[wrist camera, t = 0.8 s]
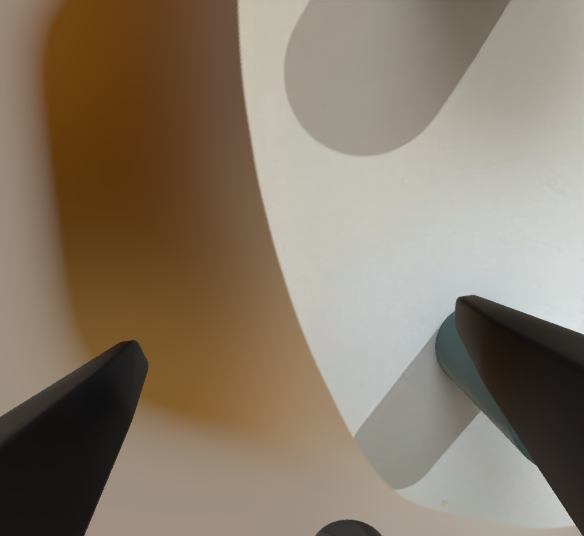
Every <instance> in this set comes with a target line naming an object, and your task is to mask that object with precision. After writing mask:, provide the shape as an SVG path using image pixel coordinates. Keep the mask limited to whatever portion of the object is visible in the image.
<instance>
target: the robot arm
mask: <svg viewBox="0 0 584 536" xmlns="http://www.w3.org/2000/svg"><path fill="white" fill-rule="evenodd" d="M454 326H455V329H456V332H457V334H458V336H459V338H460V340H461V342H462V344H463V346H464V348H465V350H466V352H467V354H468V355H469V357H470V359H471V361H472V363H473V365H474V367H475V369H476V371H477V373H478V375H479V377H480V379H481V380H482V382H483V384H484V385H485V387H486V389H487V390H488V392H489V393H490V395H491V396H492V398H493V399H494V401H495V402H496V404H497V406H498V407H499V409H500V410H501V412H502V413H503V415H504V416H505V418H506V419H507V421H508V422H509V424H510V425H511V427H512V428H513V430H514V432H515V433H516V435H517V436H518V438H519V439H520V441H521V442H522V444H523V445H524V447H525V448H526V450H527V451H528V453H529V454H530V456H531V457H532V459H533V461H534V462H535V464H536V465H537V467H538V468H539V470H540V471H541V473H542V474H543V476H544V477H545V479H546V480H547V482H548V483H549V485H550V487H551V488H552V490H553V491H554V493H555V494H556V496H557V497H558V499H559V500H560V502H561V503H562V505H563V506H564V508H565V509H566V511H567V512H568V514H569V516H570V517H571V519H572V520H573V522H574V523H575V525H576V526H577V527H578V529H579V531H580V532H581V534H582V535H583V536H584V334H581V333H578V332H575V331H573V330H570V329H567V328H564V327H561V326H559V325H556V324H553V323H550V322H548V321H545V320H542V319H539V318H537V317H534V316H531V315H528V314H526V313H523V312H520V311H517V310H515V309H512V308H509V307H506V306H504V305H501V304H498V303H495V302H493V301H490V300H487V299H484V298H482V297H479V296H476V295H469V296H461V297H459V298H457V300H456V307H455V318H454ZM147 371H148V361H147V359H146V357H145V355H144V353H143V351H142V349H141V347H140V345H139V343H138V342H137V341H135V340H131V341H124V342H120V343H118V344H117V345H115V346H113V347H112V348H110V349H109V350H107V351H105V352H104V353H102V354H101V355H99V356H97V357H96V358H94V359H92V360H91V361H89V362H88V363H86V364H84V365H83V366H81V367H80V368H78V369H77V370H75V371H73V372H72V373H70V374H68V375H67V376H65V377H64V378H62V379H60V380H59V381H57V382H56V383H54V384H52V385H51V386H49V387H48V388H46V389H44V390H43V391H41V392H40V393H38V394H37V395H35V396H33V397H31V398H30V399H28V400H27V401H25V402H24V403H22V404H20V405H19V406H17V407H15V408H14V409H12V410H11V411H9V412H8V413H6V414H4V415H3V416H1V417H0V536H84V535H85V533H86V530H87V528H88V525H89V523H90V521H91V518H92V516H93V514H94V511H95V509H96V506H97V504H98V501H99V499H100V497H101V494H102V492H103V490H104V487H105V485H106V482H107V480H108V478H109V475H110V473H111V470H112V468H113V465H114V463H115V461H116V458H117V456H118V453H119V451H120V449H121V446H122V444H123V441H124V439H125V437H126V434H127V432H128V429H129V427H130V424H131V422H132V419H133V416H134V413H135V410H136V407H137V403H138V400H139V397H140V393H141V390H142V387H143V384H144V381H145V377H146V374H147Z"/></svg>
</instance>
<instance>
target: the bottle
mask: <svg viewBox="0 0 584 536" xmlns="http://www.w3.org/2000/svg"><path fill="white" fill-rule="evenodd" d="M454 318H455V312H453V313H452V314H451V315H450V316H449V317H448V318H447V319H446V320H445V321H444V323H443V324H442V326H441V328H440V330H439V332H438V335H437V339H436V355H437V359H438V362H439V364H440V366H441V367H442V369H443V370H444V372H445V373H446V374H447V375H448V376H449V377H450V378H451V379H452V380H453V381H454V382H455V383H456V384H457V385H458V386H459V388H460V389H461V390H462V391H463V392H464V393H465V394H466V395H467V396H468V397H469V398H470V399H471V400H472V401H473V402H474V403H475V404H476V405H477V406H478V408H479V409H480V410H481V411H482V412H483V413H484V414H485V415H486V416H487V417H488V418H489V419H490V420H491V421H492V422H493V423H494V424H495V425H496V426H497V427H498V429H499V430H500V431H501V432H502V433H503V434H504V435H505V436H506V437H507V438H508V439H509V440H510V441H511V442H512V443H513V444H514V445H515V446H516V447H517V449H518V450H519V451H520V452H521V453H522V454H523V455H524V456H525V457H526V458H527V459H528V460H530V461H531V462H532V463H534V464H535V462H534V461H533V459H532V457H531V456H530V454H529V453H528V451H527V450H526V448H525V447H524V445H523V444H522V442H521V441H520V439H519V438H518V436H517V435H516V433H515V432H514V430H513V428H512V427H511V425H510V424H509V422H508V421H507V419H506V418H505V416H504V415H503V413H502V412H501V410H500V409H499V407H498V406H497V404H496V402H495V401H494V399H493V398H492V396H491V395H490V393H489V392H488V390H487V389H486V387H485V385H484V384H483V382H482V380H481V379H480V377H479V375H478V373H477V371H476V369H475V367H474V365H473V363H472V361H471V359H470V357H469V355H468V354H467V352H466V350H465V348H464V346H463V344H462V342H461V340H460V338H459V336H458V334H457V332H456V329H455V326H454ZM535 465H536V464H535Z"/></svg>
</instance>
